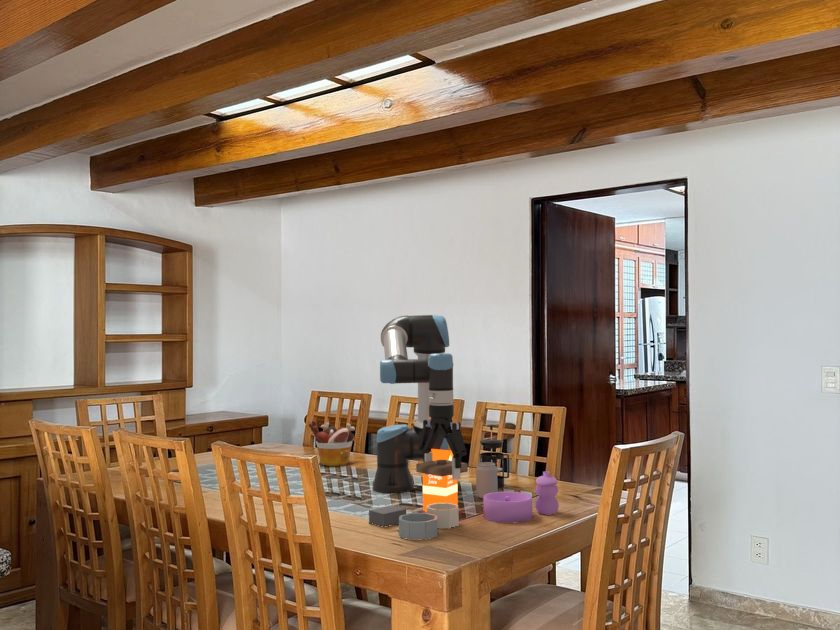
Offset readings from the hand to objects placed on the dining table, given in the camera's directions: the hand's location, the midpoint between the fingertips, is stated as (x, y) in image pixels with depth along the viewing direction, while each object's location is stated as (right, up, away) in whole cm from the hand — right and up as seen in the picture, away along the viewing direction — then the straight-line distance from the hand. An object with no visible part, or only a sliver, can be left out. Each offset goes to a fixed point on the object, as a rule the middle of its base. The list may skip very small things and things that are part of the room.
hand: (442, 476), depth 235 cm
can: (+17, -15, +36) cm, 43 cm away
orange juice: (0, -15, +18) cm, 23 cm away
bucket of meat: (-45, -17, +106) cm, 116 cm away
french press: (+21, -15, +55) cm, 61 cm away
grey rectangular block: (-17, -15, +3) cm, 23 cm away
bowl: (0, -15, 0) cm, 15 cm away
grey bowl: (-7, -15, -11) cm, 20 cm away
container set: (+26, -15, +10) cm, 31 cm away
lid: (0, +1, 0) cm, 1 cm away
